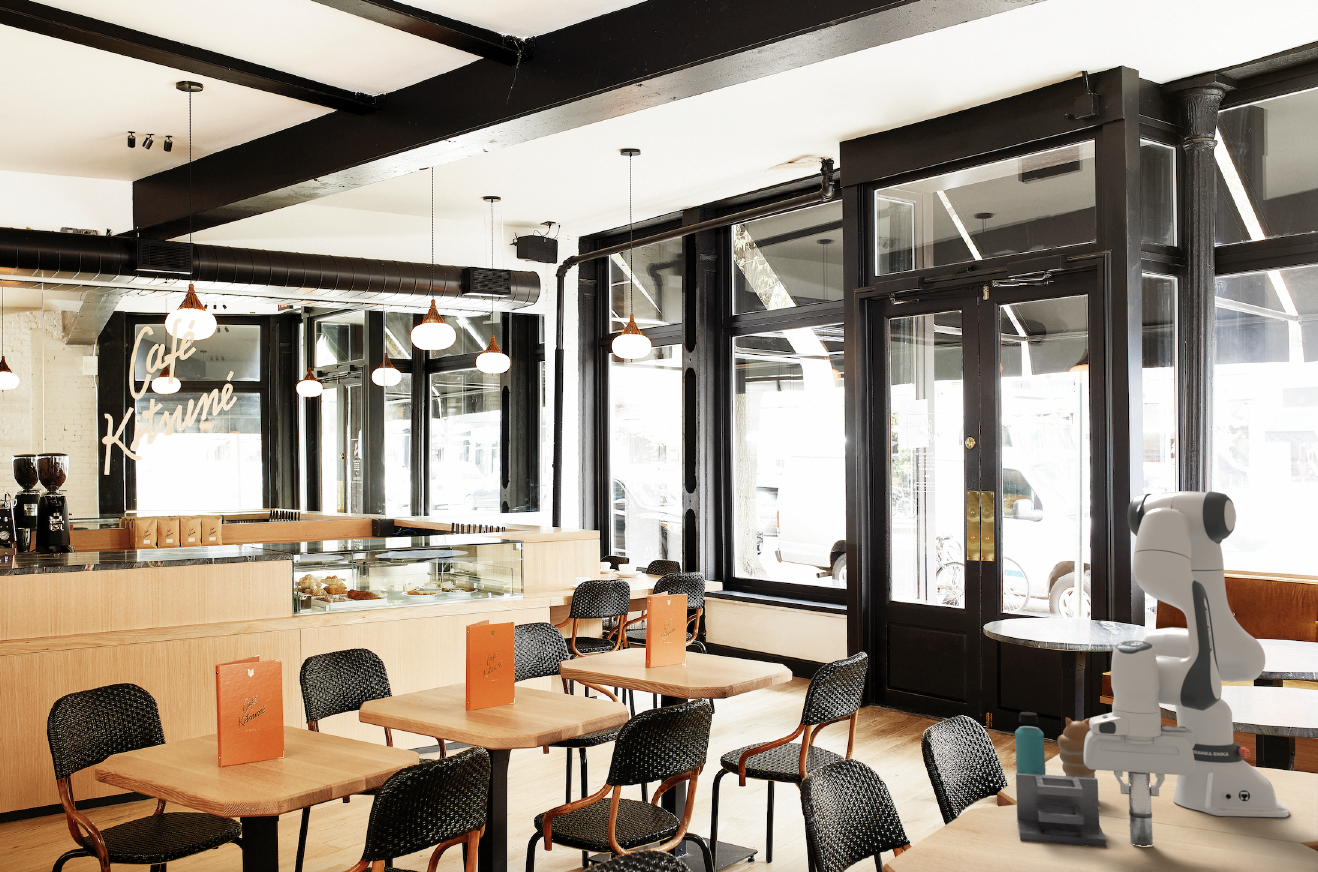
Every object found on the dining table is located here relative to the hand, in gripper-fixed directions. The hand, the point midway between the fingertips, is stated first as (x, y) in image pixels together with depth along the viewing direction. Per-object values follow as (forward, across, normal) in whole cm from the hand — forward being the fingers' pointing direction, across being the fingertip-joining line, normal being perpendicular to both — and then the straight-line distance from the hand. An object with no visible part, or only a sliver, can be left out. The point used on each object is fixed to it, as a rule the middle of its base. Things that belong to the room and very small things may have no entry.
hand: (1139, 794), depth 203 cm
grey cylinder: (+10, 0, 0) cm, 10 cm away
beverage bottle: (+10, +19, -26) cm, 34 cm away
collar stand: (+10, +15, -2) cm, 18 cm away
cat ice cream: (+10, +8, -33) cm, 35 cm away
